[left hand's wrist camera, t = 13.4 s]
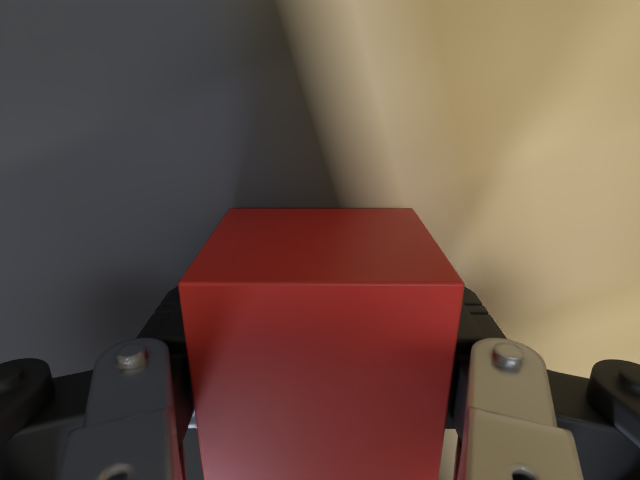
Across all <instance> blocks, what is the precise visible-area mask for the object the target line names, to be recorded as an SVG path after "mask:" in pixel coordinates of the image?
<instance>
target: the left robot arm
mask: <svg viewBox="0 0 640 480" xmlns="http://www.w3.org/2000/svg"><path fill="white" fill-rule="evenodd" d="M187 428H197V423H196V416H195V408H194V401H193V393H192V386H191V378H190V371H189V363H188V356H187V348H186V340H185V333H184V325H183V318H182V310H181V303H180V295H179V288H178V286H177V287H176V288H174V289H173V290H171V291H170V292H168V293H167V295H166V296H165V298H164V299H163V301H162V302H161V305H159V306H158V308H157V309H156V311H155V314H153V315H152V316H151V318H150V319H149V321H148V322H147V324H146V325H145V326H144V328H143V329H142V331H141V332H140V334H139V335H138V337H137V338H136V339H132V340H127V341H124V342H121V343H119V344H116V345H114V346H112V347H110V348H109V349H107V350H106V351H105V352H103V353H102V354H101V355H100V356H99V357H98V359H97V360H96V362H95V365H94V370H90V371H86V372H82V373H77V374H72V375H66V376H61V377H56V378H52V375H51V372H50V368H49V365H48V364H47V363H46V362H45V361H43V360H40V359H34V358H25V359H17V360H12V361H8V362H5V363H2V364H0V480H187V477H186V466H185V455H184V447H183V439H184V437H185V434H186V431H187ZM445 429H456V431H457V434H458V441H457V447H456V455H455V466H454V477H453V480H640V365H639V364H636V363H633V362H629V361H624V360H612V359H610V360H603V361H599V362H597V363H596V364H595V365H594V366H593V368H592V371H591V375H590V379H588V378H583V377H578V376H573V375H568V374H563V373H559V372H554V371H551V370H547V369H546V365H545V362H544V360H543V359H542V357H541V356H540V355H539V354H538V353H537V352H535V351H534V350H533V349H531V348H530V347H528V346H526V345H524V344H521V343H519V342H516V341H513V340H508V339H507V338H506V337H505V335H504V334H503V333H502V331H501V330H500V328H499V327H498V326H497V324H496V323H495V321H494V320H493V318H492V317H491V316H490V315H488V311H487V310H486V309H485V307H484V306H482V303H481V301H480V300H479V299H478V297H477V296H476V294H475V293H474V292H472V291H471V290H469V289H468V288H466V287H464V292H463V299H462V306H461V314H460V321H459V329H458V336H457V343H456V351H455V358H454V366H453V373H452V380H451V388H450V395H449V403H448V410H447V417H446V425H445Z"/></svg>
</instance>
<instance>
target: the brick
mask: <svg viewBox="0 0 640 480" xmlns="http://www.w3.org/2000/svg"><path fill="white" fill-rule="evenodd" d="M178 288H179V295H180V303H181V310H182V318H183V325H184V333H185V340H186V348H187V356H188V363H189V371H190V378H191V386H192V393H193V401H194V408H195V416H196V423H197V431H198V439H199V446H200V454H201V461H202V469H203V476H204V480H438V476H439V469H440V462H441V454H442V447H443V439H444V432H445V425H446V417H447V410H448V403H449V395H450V388H451V380H452V373H453V366H454V358H455V351H456V343H457V336H458V329H459V321H460V314H461V306H462V299H463V292H464V282H463V281H462V279H461V278H460V276H459V275H458V273H457V272H456V271H455V269H454V268H453V266H452V265H451V263H450V262H449V260H448V259H447V258H446V256H445V255H444V253H443V252H442V250H441V249H440V247H439V246H438V245H437V243H436V242H435V240H434V239H433V237H432V236H431V234H430V233H429V232H428V230H427V229H426V227H425V226H424V224H423V223H422V222H421V220H420V219H419V217H418V216H417V214H416V213H415V211H414V210H413V209H229V210H228V212H227V213H226V214H225V216H224V217H223V219H222V220H221V222H220V223H219V225H218V226H217V228H216V229H215V230H214V232H213V233H212V235H211V236H210V238H209V239H208V241H207V242H206V243H205V245H204V246H203V248H202V249H201V251H200V252H199V254H198V255H197V256H196V258H195V259H194V261H193V262H192V264H191V265H190V267H189V268H188V270H187V271H186V272H185V274H184V275H183V277H182V278H181V280H180V281H179V283H178Z"/></svg>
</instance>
